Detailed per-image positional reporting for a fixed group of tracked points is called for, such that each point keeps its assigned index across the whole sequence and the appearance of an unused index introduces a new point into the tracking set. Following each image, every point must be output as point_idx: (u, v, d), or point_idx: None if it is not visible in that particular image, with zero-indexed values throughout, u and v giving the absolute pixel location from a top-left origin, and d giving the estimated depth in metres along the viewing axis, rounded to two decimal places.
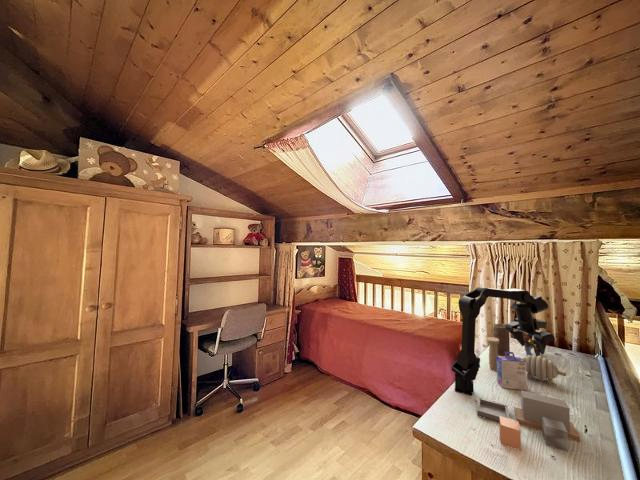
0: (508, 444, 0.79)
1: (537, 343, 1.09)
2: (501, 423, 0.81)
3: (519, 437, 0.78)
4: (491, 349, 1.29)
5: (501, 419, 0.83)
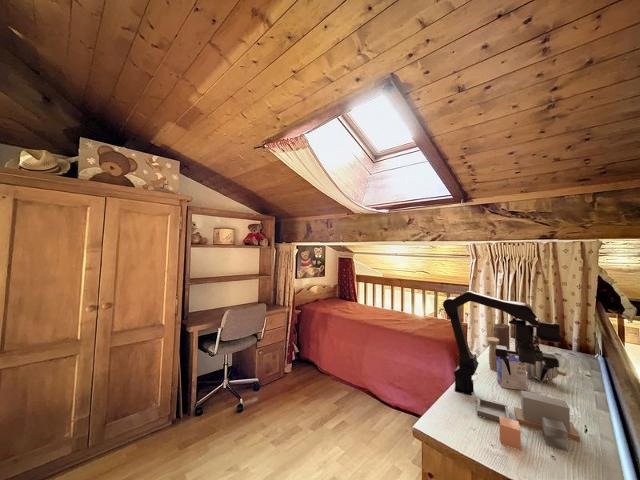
0: (508, 444, 0.79)
1: None
2: (501, 423, 0.81)
3: (519, 437, 0.78)
4: (491, 349, 1.29)
5: (501, 419, 0.83)
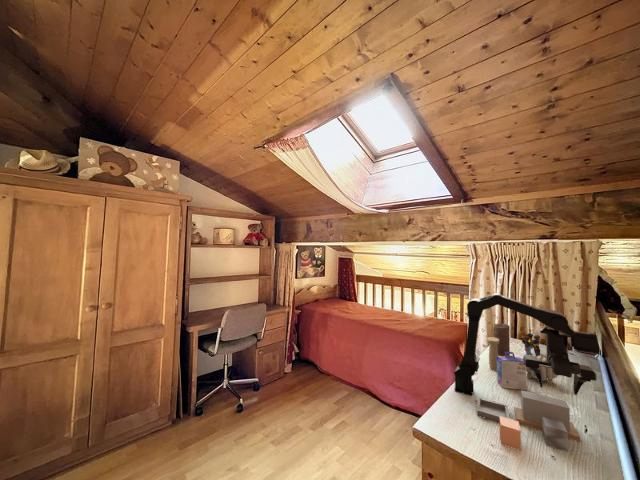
0: (508, 444, 0.79)
1: None
2: (501, 423, 0.81)
3: (519, 437, 0.78)
4: (491, 349, 1.29)
5: (501, 419, 0.83)
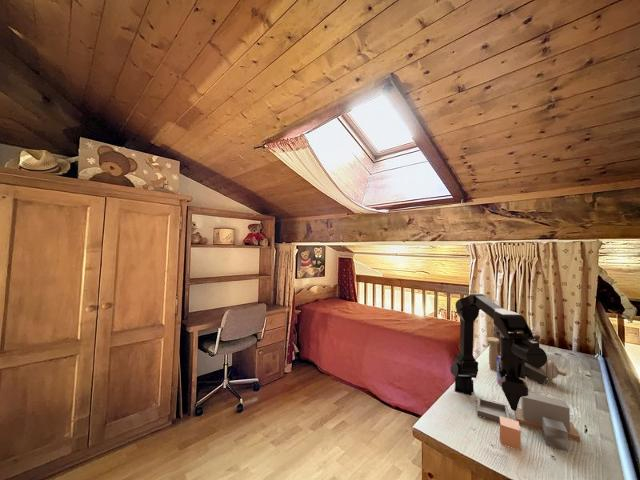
0: (508, 444, 0.79)
1: None
2: (501, 423, 0.81)
3: (519, 437, 0.78)
4: (491, 349, 1.29)
5: (501, 419, 0.83)
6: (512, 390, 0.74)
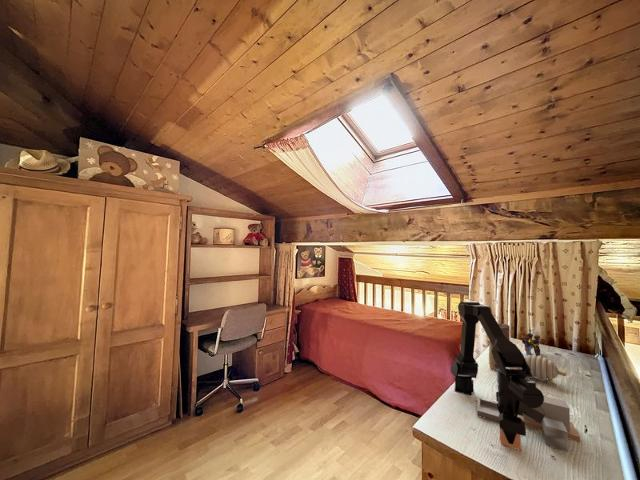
0: (508, 444, 0.79)
1: None
2: None
3: (519, 437, 0.78)
4: (491, 349, 1.29)
5: None
6: (510, 429, 0.74)
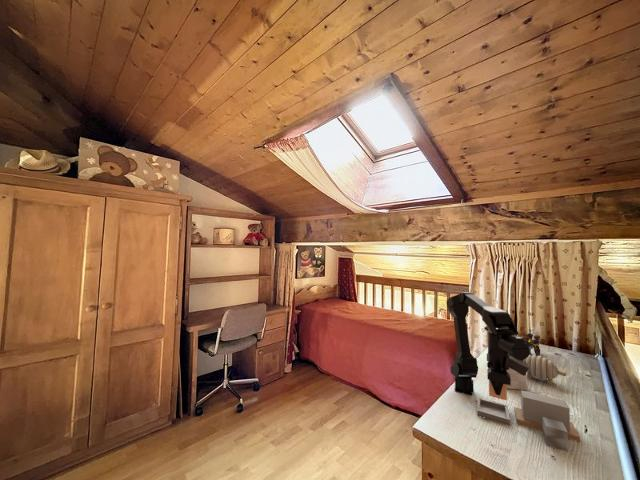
0: (495, 395, 0.88)
1: None
2: None
3: (505, 388, 0.87)
4: None
5: None
6: (496, 380, 0.83)
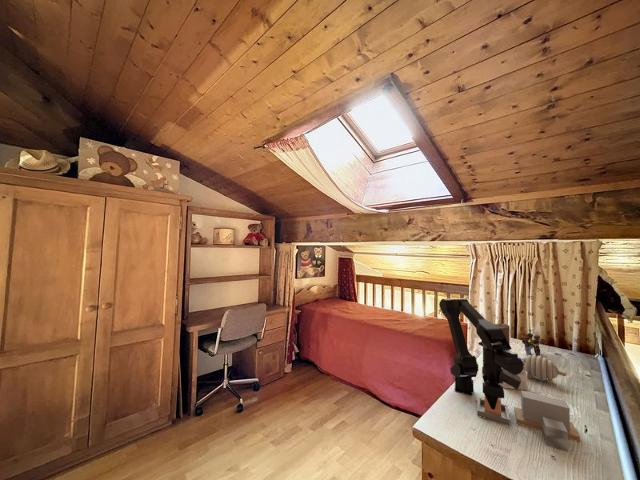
0: None
1: None
2: None
3: (500, 406, 0.92)
4: None
5: None
6: (491, 393, 0.88)
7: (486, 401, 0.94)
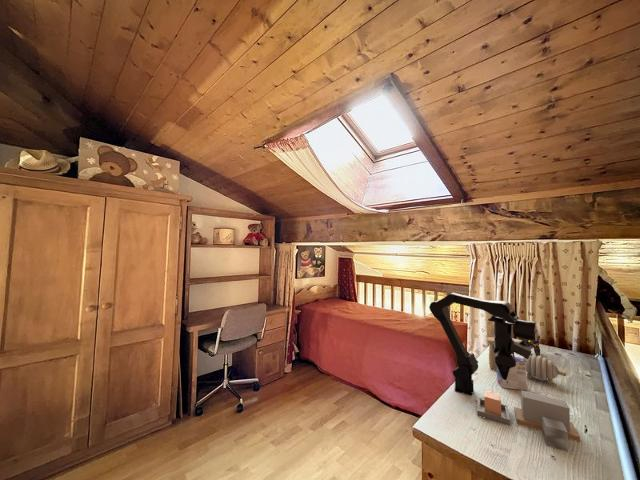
0: None
1: (495, 362, 0.96)
2: (485, 395, 0.95)
3: (500, 406, 0.92)
4: (491, 349, 1.29)
5: (485, 392, 0.97)
6: (503, 362, 0.93)
7: (486, 401, 0.94)
